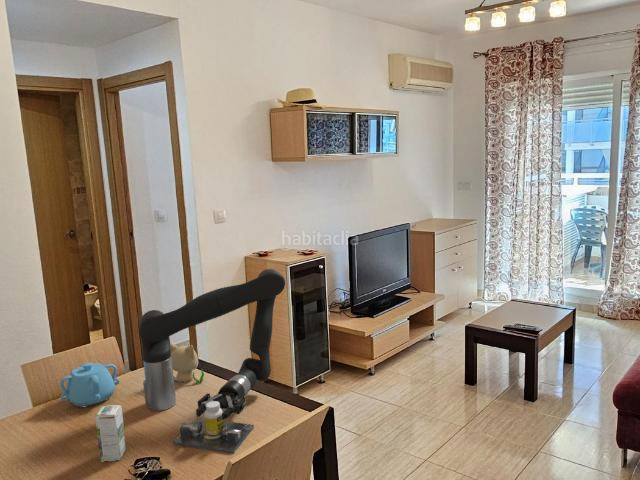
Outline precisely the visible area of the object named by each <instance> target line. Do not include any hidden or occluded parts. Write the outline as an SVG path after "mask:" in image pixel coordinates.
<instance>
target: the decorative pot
mask: <svg viewBox="0 0 640 480" xmlns="http://www.w3.org/2000/svg"><path fill="white" fill-rule="evenodd" d="M108 368H112V369H113V374H112V375H111V373H110V372H109V370H108ZM117 372H118V369H117V366H116V365H115V364H113V363H107V364H105V365H103V364H102V363H100V362H94V363H92V362H85V363H83V364H81V365H79V367H76V368H74V369H72V371H71V373H70V374H69V375H66V376H64V377H63V378H61V380H60V381H59V386H60V388H61V390H62V392H63V393H62V394H61V395H60V400H61V401H63V402H67V401H70V402H71V403H72V404H73V405H74V406H76V407H81V406H87V405H89V406H90V405H94V404H97V403H101V402H104V401H103V400H106V399H108V400H109V398H110V397H112V396H113V394H114V393H115V390H116V386H118V385H119V384H120V379H119V377H117ZM65 381H67V383H66V384H67V385H66V387H65V386H64V383H65ZM64 396H65V397H64ZM106 401H107V400H106Z"/></svg>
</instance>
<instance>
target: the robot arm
mask: <svg viewBox="0 0 640 480" xmlns="http://www.w3.org/2000/svg"><path fill="white" fill-rule="evenodd" d="M285 286H286V279H285V278H284V276H283V274H282V273H280V272H279V271H277V270H275V269H272V268H267V269H264V270H262V271H261V272H260V273H259V275H257V277H256V278H253V279H251V280H249V281H246V282H244V283H240V284H235V285H231V286H224V287H220V288H216V289H214V290H211V291H209V292H206V293H203V294H201V295H199V296H197V297H195V298H194V299H192V300H190V301H189V302H187V303H186V304H184V305H183V306H180V307H179V308H177V309H175V310H171V311H169V312H166V313H164V312H162V311H160V310H159V309H158V310H157V309H154V310H153V309H152V310H148V311H146V312H144V313H143V315H142V316H141V318H140V320H139V324H138V325H139V326H138V333H139V337H140V340H141V349H142V350H141V354H142V362H143V369H144V380H143V382H142V384H143V392H144V400H145V407H146V408H149V410H150V411H155V412H156V411H158V412H159V411H165V410H169V409H170V408H172V407H174V406H175V405H176V404H177V398H176V388H175V381H174V377H175V376H174V370H173V368H172V359H171V347H170V343H171V339H170V337H171V336H173V335H176V334H177V333H179V332H181V331H184V330H185V329H188V328H191V327H193V326H194V327H195V326H197V325H200V324H203V323H205V322H208V321H211V320H214V319H217V318H219V317H220V318H221V317H222V316H225V315H226V314H229V313H231V312H234V311H236V310H239V309H241V308H242V307H245V306H247V305H250V304H252V303H254V302H256V307H255V315H254V320H253V327H252V332H251V335H250V337H251V338H250V342H249V343H250V344H249V350H250V352H251V353H254V354H255V355H257V356H258V358H259V359H257V358H253V357H247V358H245V359H244V360H243V361H242V363H241V365H240V366H241V367H240V369H239V371H238V372H237V373H236V374H235V375H234V376H232V377H231V378H230V379H229V380H228V381H226V383H224V384H223V385H222V386H221V387H220V389H219V391H218V393H217V394H216V395H213V396H212V395H211V393H206V394H205V395H204V396H202V397H201V398H200V399H198V401H197V408H196V409H195V413H196V418H201V416H202V415H203V414H205V412H206V410H207V409H206V404H207V403H209V402H212V401H218V402H219V403H220V409H222V410H224V411H223V413H222V420H223V421H227V420H226V419H229V418H230V417H231V415H234V414H236V415H240V414H241V413H242V411H243V410H244V409H245V407H246V406H247V401H246V396H247V395H248V393H249V392H250V391H251V390H252V389H253V388H254V386H255V385H256V383H257V381H259V382H266V381H267V380H268V379H269V378H270V376H271V372H272V368H271V367H272V366H271V358H270V346H271V342H272V335H273V319H274V318H273V314H274V306H275V300H276V297H278V295H280V294H281V293H282V292H283V291H284V289H285V288H286V287H285ZM173 376H174V377H173Z"/></svg>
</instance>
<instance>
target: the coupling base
mask: <svg viewBox="0 0 640 480" xmlns="http://www.w3.org/2000/svg"><path fill="white" fill-rule="evenodd" d="M223 423H224V426H223V428H222V432H221V434H222V436H221V437H218V438H209V437H207V435H206V427H205V418H202V417H196V419H195V420H193V422H192V423H191V422H190V423H189V422H181V424H180V426H179V435H178V436H177V437H176V438H175V439H174V440H173V441H172V444H173V446H179V447H187V448H194V449H201V450H208V451H215V452H219V453H220V452H222V453H227V454H235V452H236V451H237V450H238V449H239V448H240V446H241V445H242V444H243V443H244V442H245V440H246V439H247V438H248V436H250V434H251V432H252V431H253V430H254V428H255V425H254V424H252V423H251V424H250V423H241V422H234V421H227V420H223Z"/></svg>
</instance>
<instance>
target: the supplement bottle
mask: <svg viewBox="0 0 640 480" xmlns="http://www.w3.org/2000/svg"><path fill="white" fill-rule="evenodd" d="M206 409H207V410H206V411H205V412H204V419H205V427H206V435H207V437H209V438H218V437H221V436H222V434H221V432H222V428H223V426H224V423H223V421H224V420H222V413H223V412H224V411H223V409H222V408H220V403H219V402H218V401H212V402H209V403H207V404H206Z"/></svg>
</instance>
